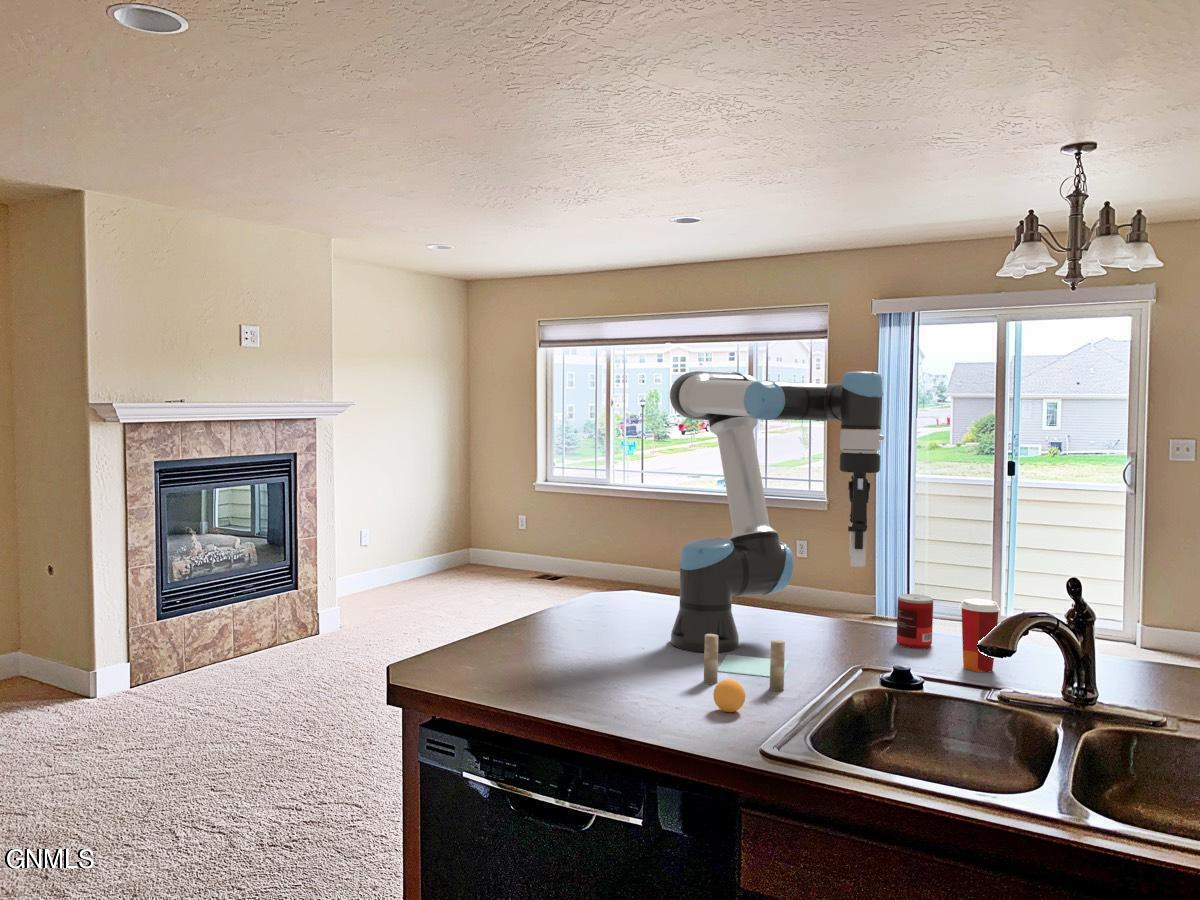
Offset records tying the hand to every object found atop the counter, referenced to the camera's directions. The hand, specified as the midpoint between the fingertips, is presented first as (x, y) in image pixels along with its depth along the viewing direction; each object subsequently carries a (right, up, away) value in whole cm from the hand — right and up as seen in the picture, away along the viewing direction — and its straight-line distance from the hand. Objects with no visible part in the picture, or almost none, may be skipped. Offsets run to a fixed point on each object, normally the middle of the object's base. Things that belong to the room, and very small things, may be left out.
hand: (856, 561), depth 172 cm
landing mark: (-18, -23, +10) cm, 31 cm away
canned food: (+22, -23, +30) cm, 44 cm away
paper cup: (+28, -24, +12) cm, 39 cm away
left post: (-29, -23, -2) cm, 37 cm away
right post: (-17, -24, -5) cm, 29 cm away
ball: (-28, -21, -19) cm, 39 cm away
